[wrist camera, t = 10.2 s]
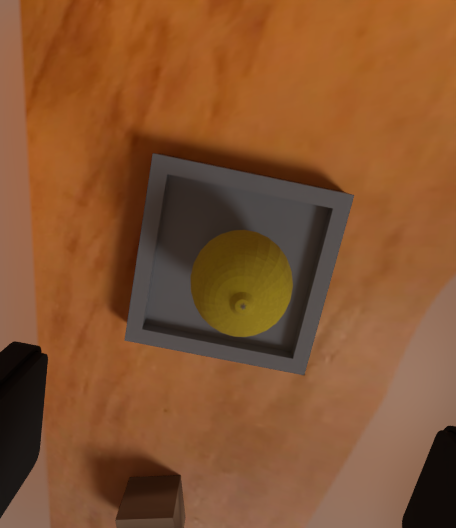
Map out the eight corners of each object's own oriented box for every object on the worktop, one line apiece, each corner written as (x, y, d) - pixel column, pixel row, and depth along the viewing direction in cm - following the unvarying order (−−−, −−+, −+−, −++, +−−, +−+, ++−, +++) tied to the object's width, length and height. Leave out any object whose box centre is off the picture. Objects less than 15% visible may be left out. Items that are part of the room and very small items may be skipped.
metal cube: (129, 476, 32) (115, 519, 28) (180, 474, 32) (172, 517, 28) (136, 518, 33) (123, 565, 29) (185, 516, 33) (178, 563, 29)
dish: (159, 153, 26) (152, 153, 24) (344, 192, 26) (354, 195, 24) (132, 327, 29) (124, 340, 27) (299, 359, 29) (304, 375, 27)
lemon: (279, 306, 27) (297, 365, 19) (195, 300, 27) (179, 358, 19) (287, 223, 26) (310, 251, 18) (199, 217, 26) (183, 243, 18)
